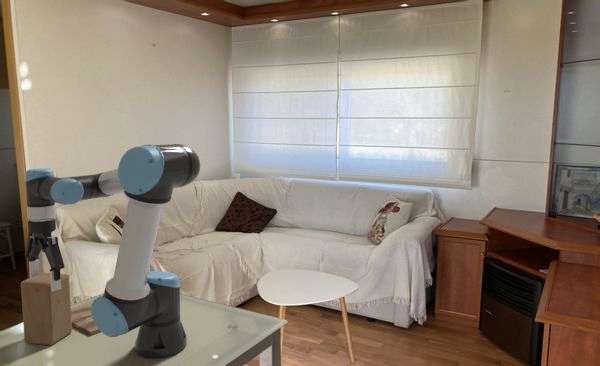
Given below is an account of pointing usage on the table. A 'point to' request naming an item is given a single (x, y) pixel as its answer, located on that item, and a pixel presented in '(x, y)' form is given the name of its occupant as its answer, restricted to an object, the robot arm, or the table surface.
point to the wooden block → (45, 309)
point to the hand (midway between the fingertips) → (45, 285)
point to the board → (84, 320)
